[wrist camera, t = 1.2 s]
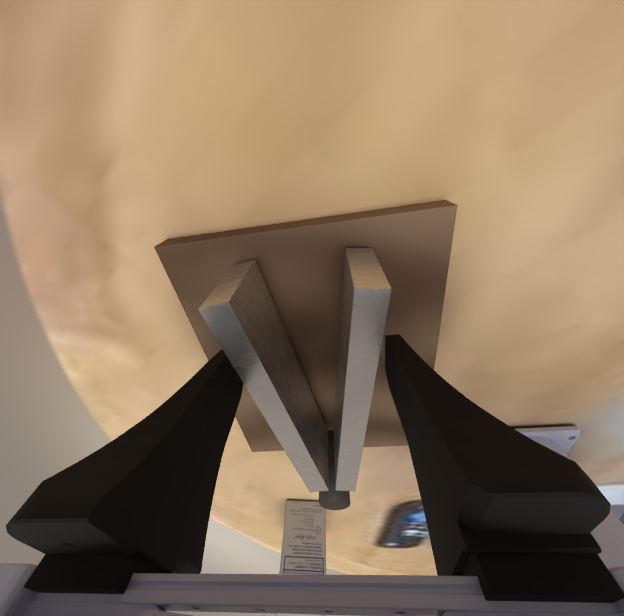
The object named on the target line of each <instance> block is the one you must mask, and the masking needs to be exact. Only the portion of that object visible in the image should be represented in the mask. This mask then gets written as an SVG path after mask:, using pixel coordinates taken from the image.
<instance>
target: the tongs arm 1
mask: <svg viewBox="0 0 624 616" xmlns="http://www.w3.org/2000/svg"><path fill="white" fill-rule="evenodd" d="M198 310H199V311H200V313H201V315H202V316H203V318H204V320H205V321H206V323H207V325H208V326H209V328H210V329H211V331H212V333H213V334H214V336H215V338H216V339H217V341H218V343H219V344H220V346H221V347H222V349H223V351H224V352H225V354H226V356H227V357H228V359H229V360H230V362H231V364H232V365H233V367H234V369H235V370H236V372H237V374H238V375H239V377H240V378H241V380H242V382H243V383H244V385H245V387H246V388H247V390H248V392H249V393H250V395H251V396H252V398H253V400H254V401H255V403H256V405H257V406H258V408H259V409H260V411H261V413H262V414H263V416H264V418H265V419H266V421H267V423H268V424H269V426H270V427H271V429H272V431H273V432H274V434H275V436H276V437H277V439H278V441H279V442H280V444H281V445H282V447H283V449H284V450H285V452H286V454H287V455H288V457H289V459H290V460H291V462H292V463H293V465H294V467H295V468H296V470H297V472H298V473H299V475H300V476H301V478H302V480H303V481H304V483H305V485H306V486H307V488H308V490H309V491H310V492H319V491H329V470H328V429H327V427H326V424H325V422H324V420H323V417H322V415H321V413H320V410H319V408H318V406H317V403H316V401H315V399H314V396H313V394H312V392H311V389H310V387H309V385H308V382H307V380H306V378H305V375H304V373H303V371H302V368H301V366H300V363H299V361H298V359H297V356H296V354H295V352H294V349H293V347H292V345H291V342H290V340H289V338H288V335H287V333H286V331H285V328H284V326H283V324H282V321H281V319H280V317H279V314H278V312H277V309H276V307H275V305H274V302H273V300H272V298H271V295H270V293H269V291H268V288H267V286H266V284H265V281H264V279H263V277H262V274H261V272H260V270H259V267H258V265H257V263H256V260H251V261H247V262H244V263H240V264H236V265H233V266H232V267H231V268H230V269H229V271H228V272H227V273H226V274H225V276H224V277H223V278H222V280H221V281H220V282H219V283H218V285H217V286H216V287H215V288H214V290H213V291H212V292H211V294H210V295H209V296H208V297H207V299H206V300H205V301H204V302H203V304H202V305H201V306H200V308H199V309H198Z"/></svg>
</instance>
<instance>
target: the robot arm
mask: <svg viewBox="0 0 624 616" xmlns="http://www.w3.org/2000/svg"><path fill="white" fill-rule="evenodd" d="M385 371H386V376H387V380H388V385H389V389H390V392H391V395H392V398H393V401H394V404H395V407H396V410H397V412H398V415H399V418H400V421H401V424H402V427H403V430H404V433H405V435H406V439H407V442H408V445H409V449H410V453H411V457H412V461H413V465H414V469H415V474H416V478H417V482H418V486H419V491H420V495H421V499H422V504H423V508H424V513H425V517H426V522H427V526H428V531H429V536H430V540H431V545H432V550H433V555H434V559H435V564H436V569H437V574H438V576H408V575H288V574H278V575H277V574H200V572H201V568H202V560H203V553H204V547H205V539H206V533H207V527H208V521H209V516H210V510H211V505H212V500H213V495H214V490H215V485H216V480H217V476H218V471H219V467H220V463H221V458H222V454H223V451H224V447H225V444H226V441H227V438H228V435H229V432H230V429H231V426H232V423H233V420H234V418H235V415H236V412H237V409H238V405H239V402H240V399H241V395H242V390H243V384H244V383H243V382H242V380H241V378H240V377H239V375H238V374H237V372H236V370H235V369H234V367H233V365H232V364H231V362H230V360H229V359H228V357H227V356H226V354H225V352H224V351H223V350H220V351H219V352H218V353H217V354H216V355H215V356H214V357H213V358H212V359H210V360H209V361H208V362H207V363H206V364H205V365H204V366H203V367H202V368H201V369H200V370H199V371H198V372H197V373H196V374H195V375H194V376H193V377H192V378H191V379H190V380H189V381H188V382H187V383H186V384H185V385H184V386H183V387H181V388H180V389H179V390H178V391H177V392H176V393H175V394H174V395H173V396H172V397H170V398H169V399H168V400H167V401H166V402H165V403H163V404H162V405H161V406H160V407H159V408H157V409H156V410H155V411H154V412H152V413H151V414H150V415H148V416H147V417H146V418H145V419H143V420H142V421H140V422H139V423H138V424H136V425H135V426H133V427H132V428H131V429H129V430H128V431H126V432H125V433H123V434H122V435H121V436H119V437H118V438H116V439H115V440H113V441H112V442H110V443H108V444H107V445H105V446H104V447H102V448H101V449H99V450H97V451H96V452H94V453H93V454H91V455H89V456H87V457H86V458H84V459H82V460H81V461H79V462H77V463H75V464H73V465H72V466H70V467H68V468H66V469H65V470H63V471H61V472H59V473H57V474H55V475H54V476H52V477H50V478H48V479H46V480H44V481H43V482H42V483H41V484H40V485H39V486H38V488H37V489H36V490H35V491H34V492H33V493H32V495H31V496H30V497H29V498H28V499H27V501H26V502H25V503H24V504H23V505H22V507H21V508H20V509H19V510H18V512H17V513H16V514H15V515H14V516H13V518H12V519H11V520H10V521H9V522H8V524H7V525H6V529H7V532H8V534H10V535H11V536H12V537H13V538H15V539H17V540H18V541H20V542H22V543H25V544H26V545H29V546H31V547H33V548H35V549H37V550H39V551H41V552H43V553H45V554H46V555H45V556H44V557H43V559H42V560H41V562H40V563H39V565H38V566H37V565H33V564H25V563H0V616H191V615H184V614H177V613H171V612H167V611H202V612H240V613H280V614H320V615H360V616H624V525H623V524H622V523H621V521H620V520H619V519H618V518H617V516H616V515H615V514H614V513H613V511H612V510H611V509H610V503H609V502H608V500H607V499H606V498H605V497H604V495H603V494H602V493H601V492H600V490H599V489H598V488H597V486H596V485H595V484H594V483H593V481H592V480H591V479H590V478H589V477H588V476H587V474H586V473H585V472H584V471H583V470H582V469H581V468H580V467H579V466H578V465H577V463H576V462H574V461H572V460H571V458H570V457H569V456H568V455H567V454H568V452H569V451H570V449H571V448H572V446H573V445H574V443H575V442H576V440H577V439H578V438H579V436H580V435H581V431H580V429H579V428H578V427H576V426H563V427H541V428H519V429H513V428H511V427H510V426H508V425H506V424H505V423H503V422H502V421H500V420H499V419H497V418H495V417H494V416H492V415H491V414H489V413H488V412H486V411H485V410H483V409H482V408H480V407H479V406H477V405H476V404H475V403H473V402H472V401H470V400H469V399H468V398H466V397H465V396H464V395H462V394H461V393H460V392H459V391H457V390H456V389H455V388H454V387H452V386H451V385H450V384H449V383H448V382H446V381H445V380H444V379H443V378H442V377H441V376H440V375H438V374H437V373H436V372H435V371H434V370H433V369H432V368H431V367H430V366H429V365H428V364H427V363H426V362H425V361H424V360H423V359H422V358H421V357H420V356H419V355H418V354H417V353H416V352H415V351H414V350H413V349H412V348H411V347H410V345H409V344H408V343H407V342H406V341H405V340H404V339H403V337H402V336H401V335H399V334H395V335H385Z"/></svg>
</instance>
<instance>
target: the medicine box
mask: <svg viewBox="0 0 624 616" xmlns="http://www.w3.org/2000/svg"><path fill="white" fill-rule="evenodd" d="M279 574H288V575H326V534H325V508H323V507H322V506H320V504H319V501H306V500H288V501H287V502H286V510H285V521H284V531H283V541H282V552H281V563H280V573H279ZM276 616H326V615H320V614H280V613H276Z"/></svg>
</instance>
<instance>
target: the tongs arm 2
mask: <svg viewBox="0 0 624 616" xmlns="http://www.w3.org/2000/svg"><path fill="white" fill-rule="evenodd" d="M390 294H391V286H390V284H389V282H388V280H387V278H386V276H385V274H384V272H383V270H382V268H381V266H380V264H379V262H378V260H377V258H376V255H375V253H374V251H373V249H372V248H346V250H345V265H344V280H343V295H342V310H341V325H340V340H339V355H338V370H337V385H336V400H335V415H334V460H335V489H336V490H337V491H355V489H356V484H357V478H358V472H359V467H360V461H361V456H362V450H363V445H364V439H365V433H366V428H367V422H368V417H369V411H370V406H371V400H372V394H373V389H374V383H375V378H376V372H377V367H378V361H379V355H380V350H381V344H382V339H383V333H384V328H385V322H386V317H387V311H388V305H389V300H390Z"/></svg>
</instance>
